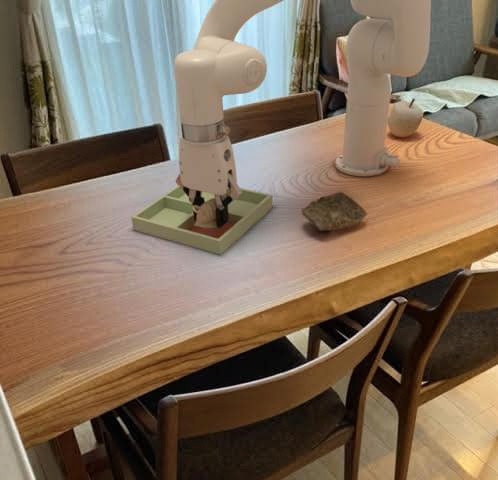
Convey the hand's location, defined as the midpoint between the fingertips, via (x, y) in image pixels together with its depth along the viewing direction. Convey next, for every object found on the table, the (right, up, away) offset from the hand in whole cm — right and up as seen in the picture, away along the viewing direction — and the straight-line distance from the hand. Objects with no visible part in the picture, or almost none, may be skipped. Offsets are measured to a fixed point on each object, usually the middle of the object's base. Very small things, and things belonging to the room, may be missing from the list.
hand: (211, 220), depth 106 cm
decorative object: (+49, +30, +39) cm, 69 cm away
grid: (-2, +2, +7) cm, 8 cm away
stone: (+24, -1, +3) cm, 25 cm away
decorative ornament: (0, -1, +1) cm, 1 cm away
